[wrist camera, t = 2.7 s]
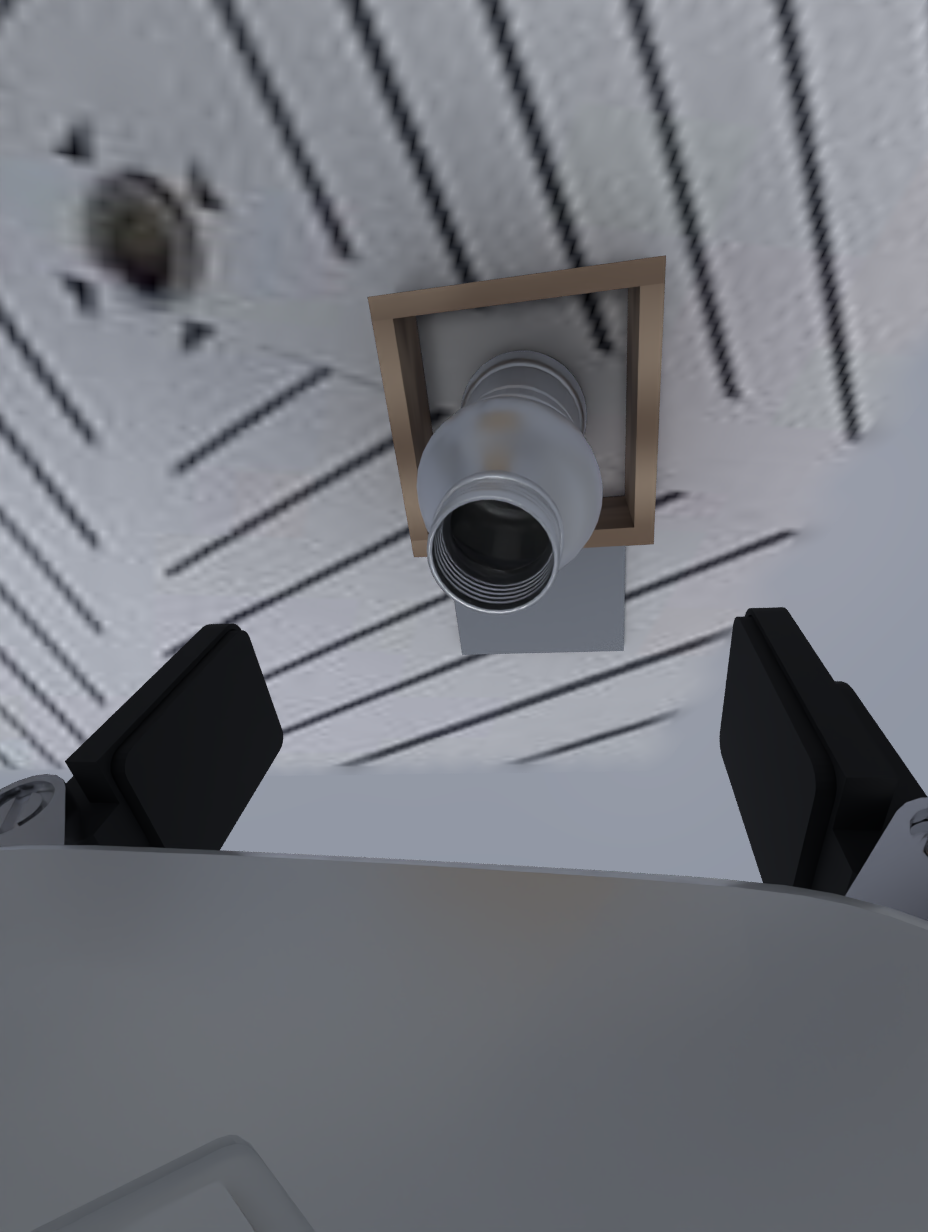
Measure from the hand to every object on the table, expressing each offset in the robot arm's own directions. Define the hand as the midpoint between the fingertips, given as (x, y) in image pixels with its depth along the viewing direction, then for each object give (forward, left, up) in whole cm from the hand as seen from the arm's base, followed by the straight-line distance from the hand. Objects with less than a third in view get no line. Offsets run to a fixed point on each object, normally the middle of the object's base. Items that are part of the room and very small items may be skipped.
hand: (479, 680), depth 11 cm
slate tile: (+12, 0, -25) cm, 28 cm away
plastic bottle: (0, 0, -26) cm, 26 cm away
